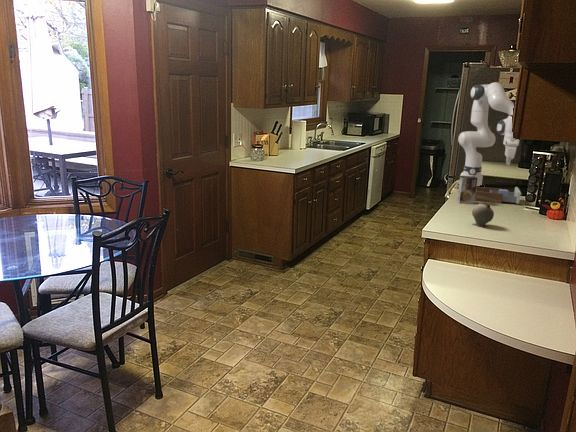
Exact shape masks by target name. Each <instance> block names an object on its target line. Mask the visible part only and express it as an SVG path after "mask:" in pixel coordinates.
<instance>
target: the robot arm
mask: <svg viewBox="0 0 576 432" xmlns="http://www.w3.org/2000/svg"><path fill="white" fill-rule="evenodd" d="M469 94H470V98H471V99H472V100H473V102H472V107H471V112H470V123H471V125H472V126H474V127H476V130H477V131H473V130H472V131H471V130H469V131H468V130H467V131H462V132H460V133H459V135H458V139H457V141H458V143H459V145H460V146H461V147H462V149H463V150H464V152H465V161H464V162H465V163H464V166H463V171H462V172H461V173H460V175H459V177H460V176H475V177H476V178H478V179H477V186H480V185H482V184H483V177H484V175H483V174H482V170H483V169H482V168H483V167H482V162H483V155H482V154H481V152H478V151H477V148H489V147H493V146H494V144H495V143H496V136H495V134H494V133H493V132H492V131H491V129H490V127H489V124H488V123H489V120H488V119H489V118H488V117H489V109H490V108H491V109H492V110H494V111H498V112H503V113H505V114H507V117H506V118H504V119H501V120H499V121H498V122H497V124H496V127H495V129H496V132H497V134H499V135H500V136H504V137H503V142H502V143H503V145H504V147H505V151H504V156H505V157H506V159H505V164H506V165H507V166H510V165H511V162H512V160H514V158H515V155H516V153H517V147H519V146H520V141H521V139H520V140H519V139H515V138H513V132H512V116H513V108H514V104H515V103H514V102H513V101H512V100H511V99H510V98H509V97H508V96H507V93H506V92H505V87H504V86H503V85H502V84H501V83H500V82H497V81H495V82H491V83H489V84H487V83H486V84H475V85H473V86H472V87H471V89H470V93H469Z"/></svg>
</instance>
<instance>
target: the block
mask: <svg viewBox="0 0 576 432" xmlns="http://www.w3.org/2000/svg"><path fill="white" fill-rule="evenodd" d="M498 189H499V193H500V194H503V195H506V196H508V192H509V190H508V189H503V188H498Z"/></svg>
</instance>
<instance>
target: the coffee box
mask: <svg viewBox="0 0 576 432" xmlns="http://www.w3.org/2000/svg"><path fill="white" fill-rule="evenodd" d="M477 179H478V178H476V177H475V176H460V175H459V180H458V182H459V185H458V191H457V197H456V201H457V203H458V204H469V205H470V204H471V205H473V204H474V205H475V202H476V201H475V194H476V186H477Z"/></svg>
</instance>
